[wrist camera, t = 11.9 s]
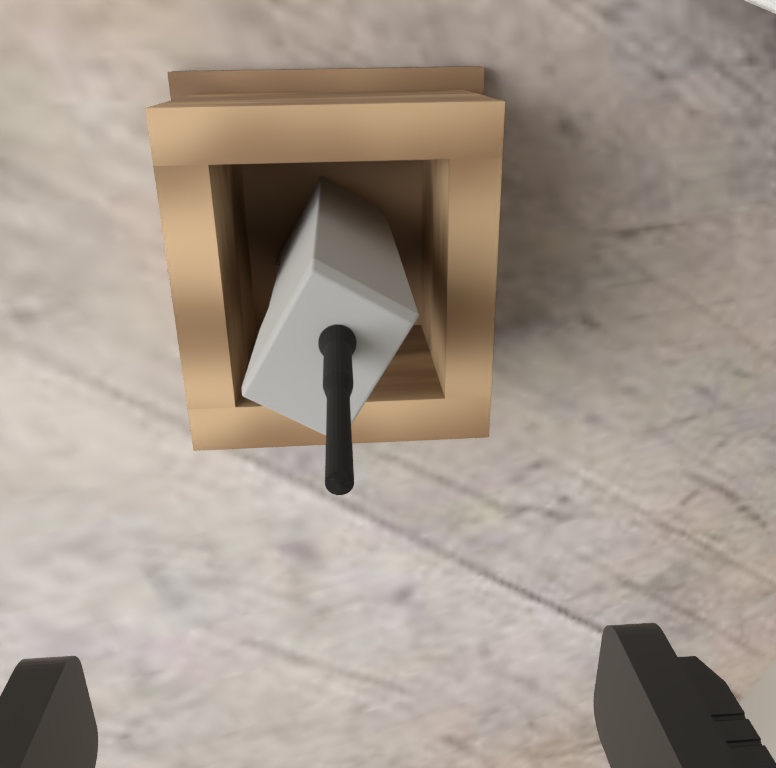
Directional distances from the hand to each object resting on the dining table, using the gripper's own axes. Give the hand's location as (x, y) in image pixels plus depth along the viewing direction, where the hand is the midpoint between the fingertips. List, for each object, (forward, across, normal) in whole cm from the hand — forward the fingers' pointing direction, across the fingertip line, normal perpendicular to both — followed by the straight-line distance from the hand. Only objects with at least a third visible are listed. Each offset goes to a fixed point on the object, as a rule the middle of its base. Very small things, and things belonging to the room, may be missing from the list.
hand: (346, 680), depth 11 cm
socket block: (+31, 0, 0) cm, 31 cm away
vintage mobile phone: (+30, 0, 0) cm, 30 cm away
